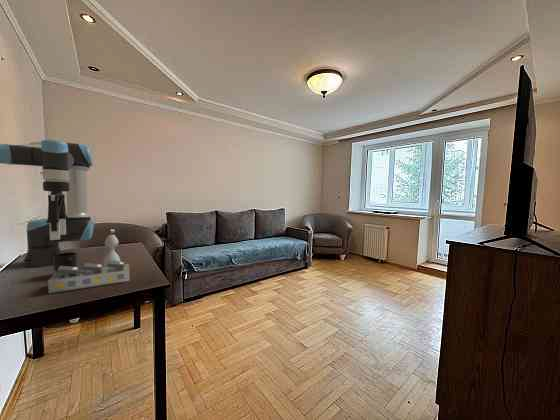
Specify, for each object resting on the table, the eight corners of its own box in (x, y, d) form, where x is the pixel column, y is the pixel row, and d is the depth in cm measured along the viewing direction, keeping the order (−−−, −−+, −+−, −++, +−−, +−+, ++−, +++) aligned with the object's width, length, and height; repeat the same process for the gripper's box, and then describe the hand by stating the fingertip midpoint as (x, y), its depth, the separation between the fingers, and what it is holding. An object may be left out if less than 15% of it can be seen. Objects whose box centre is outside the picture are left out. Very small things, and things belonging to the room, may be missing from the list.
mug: (57, 281, 101) (56, 259, 100) (51, 274, 108) (50, 254, 107) (81, 276, 107) (81, 255, 107) (74, 270, 115) (73, 251, 114)
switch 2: (84, 266, 101) (85, 262, 101) (101, 268, 104) (102, 264, 104) (82, 270, 96) (84, 265, 97) (100, 271, 100) (101, 267, 100)
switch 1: (59, 269, 96) (60, 265, 96) (77, 271, 99) (79, 266, 100) (56, 273, 92) (57, 268, 92) (75, 274, 95) (77, 270, 95)
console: (54, 284, 98) (54, 271, 97) (129, 274, 112) (128, 262, 112) (48, 293, 89) (47, 279, 89) (129, 281, 104) (129, 268, 103)
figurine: (99, 268, 118) (98, 229, 117) (116, 264, 125) (115, 227, 124) (107, 271, 114) (106, 231, 113) (124, 267, 121) (123, 229, 120)
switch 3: (107, 264, 105) (108, 260, 105) (123, 265, 108) (124, 261, 108) (106, 267, 101) (108, 263, 101) (123, 268, 104) (124, 264, 104)
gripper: (50, 181, 99) (52, 232, 101) (33, 179, 80) (36, 243, 82) (73, 182, 103) (75, 231, 105) (63, 181, 84) (65, 241, 86)
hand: (58, 237), depth 93 cm, fingers open, 10 cm apart
